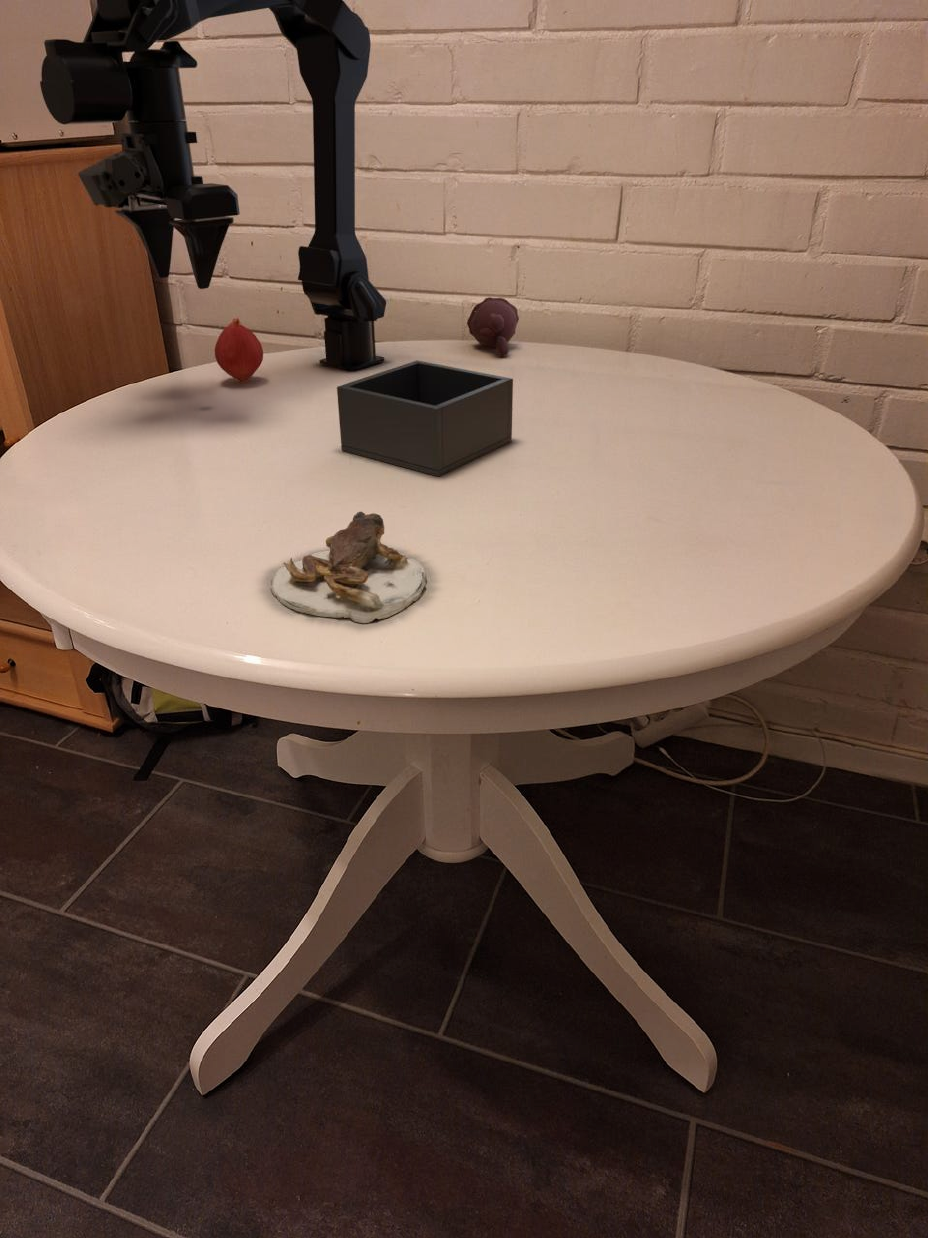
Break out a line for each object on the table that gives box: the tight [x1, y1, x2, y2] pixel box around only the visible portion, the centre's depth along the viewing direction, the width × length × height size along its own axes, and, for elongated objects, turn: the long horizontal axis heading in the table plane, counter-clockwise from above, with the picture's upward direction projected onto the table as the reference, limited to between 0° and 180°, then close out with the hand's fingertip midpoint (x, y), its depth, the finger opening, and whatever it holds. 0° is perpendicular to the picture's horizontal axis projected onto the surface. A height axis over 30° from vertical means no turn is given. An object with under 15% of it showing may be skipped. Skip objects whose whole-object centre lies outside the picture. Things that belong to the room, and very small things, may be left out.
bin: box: [336, 359, 514, 477], centre depth 92 cm, size 13×13×7 cm
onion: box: [214, 317, 264, 384], centre depth 113 cm, size 6×6×8 cm
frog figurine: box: [270, 511, 427, 624], centre depth 67 cm, size 12×12×4 cm
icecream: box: [466, 296, 520, 358], centre depth 129 cm, size 7×7×15 cm
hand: (183, 282), depth 100 cm, fingers open, 9 cm apart
